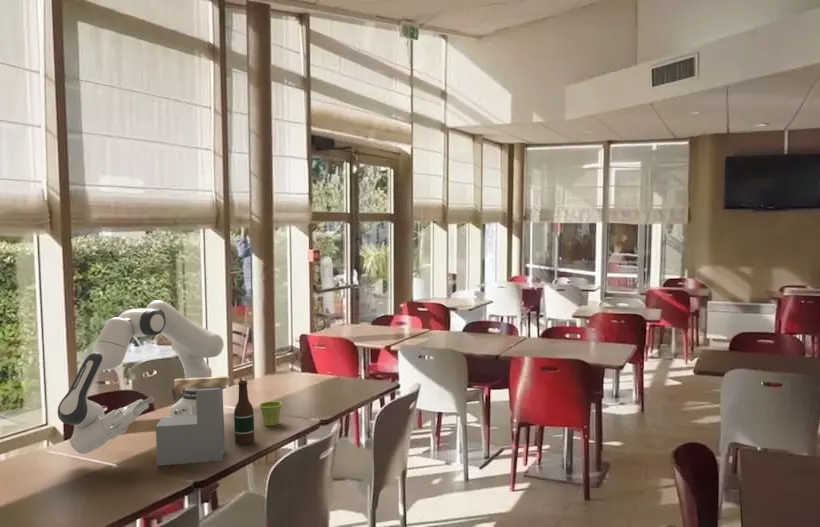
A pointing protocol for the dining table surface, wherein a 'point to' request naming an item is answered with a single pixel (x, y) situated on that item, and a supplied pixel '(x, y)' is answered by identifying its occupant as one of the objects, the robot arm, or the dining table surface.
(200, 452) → the stand
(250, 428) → the beer bottle
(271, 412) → the plant pot
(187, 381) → the stick
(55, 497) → the dining table surface
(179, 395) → the beverage carton
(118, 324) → the robot arm
